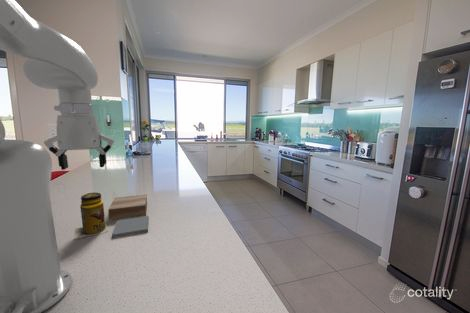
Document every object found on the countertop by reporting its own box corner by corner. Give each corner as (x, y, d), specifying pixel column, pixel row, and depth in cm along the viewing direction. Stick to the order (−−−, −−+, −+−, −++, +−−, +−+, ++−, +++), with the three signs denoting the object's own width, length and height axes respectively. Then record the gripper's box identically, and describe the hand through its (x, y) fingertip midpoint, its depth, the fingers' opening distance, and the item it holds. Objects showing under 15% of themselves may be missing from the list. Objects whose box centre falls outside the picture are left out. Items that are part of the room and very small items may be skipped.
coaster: (147, 231, 67) (147, 228, 67) (112, 237, 64) (112, 234, 63) (148, 218, 76) (148, 215, 76) (117, 222, 73) (117, 220, 73)
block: (146, 215, 79) (145, 205, 78) (109, 220, 74) (108, 209, 74) (147, 203, 90) (146, 194, 89) (115, 207, 86) (114, 197, 85)
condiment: (107, 232, 67) (103, 196, 65) (74, 240, 62) (69, 201, 60) (106, 222, 73) (103, 189, 71) (76, 229, 68) (71, 194, 66)
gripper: (32, 109, 55) (42, 172, 58) (108, 110, 61) (114, 168, 64) (46, 110, 61) (54, 166, 65) (113, 111, 68) (118, 163, 71)
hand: (84, 167), depth 64 cm, fingers open, 9 cm apart
